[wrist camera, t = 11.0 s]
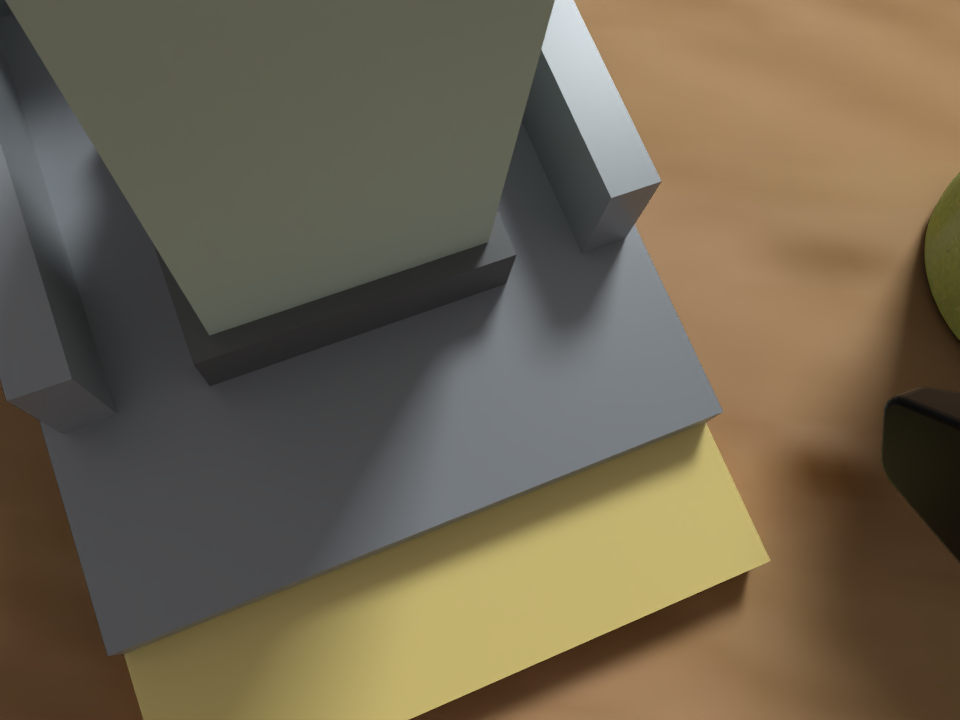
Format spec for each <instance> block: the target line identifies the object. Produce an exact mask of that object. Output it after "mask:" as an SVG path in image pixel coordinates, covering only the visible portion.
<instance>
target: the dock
mask: <svg viewBox="0 0 960 720" xmlns="http://www.w3.org/2000/svg"><path fill="white" fill-rule="evenodd" d="M660 183H661V179H660V177H659V175H658V173H657V171H656V169H655V167H654V165H653V163H652V161H651V159H650V157H649V155H648V152H647V150H646V148H645V146H644V144H643V142H642V140H641V138H640V136H639V134H638V132H637V130H636V128H635V126H634V124H633V122H632V120H631V118H630V116H629V113H628V111H627V109H626V107H625V105H624V103H623V101H622V99H621V97H620V95H619V93H618V91H617V89H616V87H615V85H614V83H613V81H612V79H611V76H610V74H609V72H608V70H607V68H606V66H605V64H604V62H603V60H602V58H601V56H600V54H599V52H598V50H597V48H596V46H595V44H594V42H593V39H592V37H591V35H590V33H589V31H588V29H587V27H586V25H585V23H584V21H583V19H582V17H581V15H580V13H579V11H578V9H577V7H576V5H575V2H574V0H555V1H554V5H553V9H552V12H551V16H550V20H549V23H548V27H547V31H546V34H545V38H544V41H543V45H542V49H541V52H540V56H539V60H538V63H537V67H536V71H535V74H534V78H533V82H532V85H531V89H530V92H529V96H528V100H527V103H526V107H525V111H524V114H523V118H522V122H521V125H520V129H519V132H518V136H517V140H516V143H515V147H514V151H513V154H512V158H511V162H510V165H509V169H508V173H507V176H506V180H505V183H504V187H503V191H502V194H501V198H500V202H499V205H498V209H497V210H498V213H499V215H500V217H501V219H502V222H503V224H504V226H505V229H506V231H507V233H508V236H509V238H510V240H511V242H512V245H513V247H514V249H515V252H516V254H517V255H516V258H515V261H514V263H513V266H512V269H511V272H510V275H509V277H508V280H507V283H506V284H504V285H501V286H498V287H495V288H492V289H489V290H487V291H484V292H481V293H478V294H475V295H472V296H469V297H466V298H463V299H461V300H458V301H455V302H452V303H449V304H446V305H443V306H440V307H437V308H435V309H432V310H429V311H426V312H423V313H420V314H417V315H414V316H411V317H409V318H406V319H403V320H400V321H397V322H394V323H391V324H388V325H385V326H383V327H380V328H377V329H374V330H371V331H368V332H365V333H362V334H359V335H357V336H354V337H351V338H348V339H345V340H342V341H339V342H336V343H333V344H331V345H328V346H325V347H322V348H319V349H316V350H313V351H310V352H307V353H305V354H302V355H299V356H296V357H293V358H290V359H287V360H284V361H281V362H279V363H276V364H273V365H270V366H267V367H264V368H261V369H258V370H255V371H253V372H250V373H247V374H244V375H241V376H238V377H235V378H232V379H229V380H227V381H224V382H221V383H218V384H215V385H212V386H209V385H208V383H207V382H206V381H205V379H204V378H203V376H202V375H201V374H200V372H199V371H198V370H197V368H196V367H195V366H194V364H193V361H192V358H191V355H190V352H189V349H188V346H187V343H186V340H185V337H184V334H183V331H182V328H181V325H180V322H179V319H178V316H177V313H176V311H175V308H174V305H173V302H172V299H171V296H170V293H169V290H168V287H167V284H166V281H165V278H164V275H163V272H162V269H161V266H160V263H159V260H158V257H157V254H156V251H155V248H154V245H153V242H152V240H151V239H150V237H149V236H148V234H147V232H146V231H145V229H144V227H143V226H142V224H141V222H140V221H139V219H138V217H137V216H136V214H135V213H134V211H133V209H132V208H131V206H130V204H129V203H128V201H127V199H126V198H125V196H124V195H123V193H122V191H121V190H120V188H119V186H118V185H117V183H116V181H115V180H114V178H113V176H112V175H111V173H110V172H109V170H108V168H107V167H106V165H105V163H104V162H103V160H102V158H101V157H100V155H99V153H98V152H97V150H96V149H95V147H94V145H93V144H92V142H91V140H90V139H89V137H88V135H87V134H86V132H85V131H84V129H83V127H82V126H81V124H80V122H79V121H78V119H77V117H76V116H75V114H74V112H73V111H72V109H71V108H70V106H69V104H68V103H67V101H66V99H65V98H64V96H63V94H62V93H61V91H60V89H59V88H58V86H57V85H56V83H55V81H54V80H53V78H52V76H51V75H50V73H49V71H48V70H47V68H46V67H45V65H44V63H43V62H42V60H41V58H40V57H39V55H38V53H37V52H36V50H35V48H34V47H33V45H32V44H31V42H30V40H29V39H28V37H27V35H26V34H25V32H24V30H23V29H22V27H21V25H20V24H19V22H18V21H17V19H16V17H15V16H14V14H13V12H12V11H11V9H10V7H9V6H8V4H7V2H6V1H5V0H0V380H1V384H2V387H3V391H4V394H5V398H6V401H7V402H9V403H10V404H12V405H14V406H16V407H17V408H19V409H21V410H22V411H24V412H26V413H28V414H29V415H31V416H33V417H34V418H36V419H38V420H39V421H40V425H41V428H42V432H43V435H44V439H45V442H46V446H47V449H48V452H49V456H50V459H51V463H52V466H53V470H54V473H55V476H56V480H57V483H58V487H59V490H60V494H61V497H62V501H63V504H64V507H65V511H66V514H67V518H68V521H69V525H70V528H71V531H72V535H73V538H74V542H75V545H76V549H77V552H78V556H79V559H80V562H81V566H82V569H83V573H84V576H85V580H86V583H87V586H88V590H89V593H90V597H91V600H92V604H93V607H94V611H95V614H96V617H97V621H98V624H99V628H100V631H101V635H102V638H103V641H104V645H105V648H106V652H107V655H108V656H113V655H122V654H124V656H125V660H126V663H127V666H128V670H129V673H130V677H131V680H132V683H133V687H134V690H135V694H136V697H137V700H138V704H139V707H140V710H141V714H142V717H143V720H409V719H412V718H414V717H416V716H418V715H421V714H423V713H425V712H428V711H430V710H432V709H434V708H437V707H439V706H441V705H443V704H446V703H448V702H450V701H453V700H455V699H457V698H459V697H462V696H464V695H466V694H469V693H471V692H473V691H475V690H478V689H480V688H482V687H484V686H487V685H489V684H491V683H494V682H496V681H498V680H500V679H503V678H505V677H507V676H510V675H512V674H514V673H516V672H519V671H521V670H523V669H525V668H528V667H530V666H532V665H535V664H537V663H539V662H541V661H544V660H546V659H548V658H551V657H553V656H555V655H557V654H560V653H562V652H564V651H567V650H569V649H571V648H573V647H576V646H578V645H580V644H582V643H585V642H587V641H589V640H592V639H594V638H596V637H598V636H601V635H603V634H605V633H608V632H610V631H612V630H614V629H617V628H619V627H621V626H623V625H626V624H628V623H630V622H633V621H635V620H637V619H639V618H642V617H644V616H646V615H649V614H651V613H653V612H655V611H658V610H660V609H662V608H664V607H667V606H669V605H671V604H674V603H676V602H678V601H680V600H683V599H685V598H687V597H690V596H692V595H694V594H696V593H699V592H701V591H703V590H705V589H708V588H710V587H712V586H715V585H717V584H719V583H721V582H724V581H726V580H728V579H731V578H733V577H735V576H737V575H740V574H742V573H744V572H746V571H749V570H751V569H753V568H756V567H758V566H760V565H762V564H765V563H767V562H769V561H770V559H769V557H768V554H767V552H766V550H765V548H764V546H763V544H762V542H761V539H760V537H759V535H758V533H757V531H756V529H755V527H754V524H753V522H752V520H751V518H750V516H749V514H748V512H747V509H746V507H745V505H744V503H743V501H742V499H741V497H740V495H739V492H738V490H737V488H736V486H735V484H734V482H733V480H732V477H731V475H730V473H729V471H728V469H727V467H726V465H725V462H724V460H723V458H722V456H721V454H720V452H719V450H718V447H717V445H716V443H715V441H714V439H713V437H712V435H711V432H710V430H709V428H708V426H707V424H706V422H707V421H709V420H711V419H712V418H714V417H716V416H717V415H719V414H720V413H722V412H723V410H722V408H721V406H720V404H719V402H718V400H717V398H716V395H715V393H714V391H713V389H712V387H711V385H710V383H709V381H708V379H707V376H706V374H705V372H704V370H703V368H702V366H701V364H700V362H699V360H698V357H697V355H696V353H695V351H694V349H693V347H692V345H691V343H690V341H689V338H688V336H687V334H686V332H685V330H684V328H683V326H682V324H681V322H680V319H679V317H678V315H677V313H676V311H675V309H674V307H673V305H672V303H671V300H670V298H669V296H668V294H667V292H666V290H665V288H664V286H663V283H662V281H661V279H660V277H659V275H658V273H657V271H656V269H655V267H654V264H653V262H652V260H651V258H650V256H649V254H648V252H647V250H646V248H645V245H644V243H643V241H642V239H641V237H640V235H639V233H638V231H637V229H636V226H635V223H636V221H637V219H638V218H639V216H640V215H641V213H642V211H643V210H644V208H645V207H646V205H647V204H648V202H649V200H650V199H651V197H652V196H653V194H654V192H655V191H656V189H657V188H658V186H659V184H660Z"/></svg>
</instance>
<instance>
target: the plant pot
mask: <svg viewBox="0 0 960 720" xmlns="http://www.w3.org/2000/svg"><path fill="white" fill-rule="evenodd" d="M925 267H926V273H927V278H928V282H929V285H930V289H931V292H932V295H933V297H934V299H935V302H936V304H937V306H938V308H939V311H940V313H941V314H942V316H943V318H944V319H945V321H946V323H947V324H948V326H949V328H950V329H951V330H952V332H953V333H954V334H955V336H956V337H957V338H958V339H959V340H960V173H959V174H958V175H957V176H956V177H955V178H954V179H953V180H952V182H951V183H950V184H949V186H948V187H947V189H946V190H945V191H944V193H943V195H942V196H941V198H940V200H939V202H938V203H937V205H936V207H935V209H934V211H933V213H932V215H931V217H930V220H929V224H928V227H927V231H926V237H925Z"/></svg>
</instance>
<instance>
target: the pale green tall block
mask: <svg viewBox="0 0 960 720" xmlns="http://www.w3.org/2000/svg"><path fill="white" fill-rule="evenodd" d="M5 1H6V2H7V4H8V6H9V7H10V9H11V11H12V12H13V14H14V16H15V17H16V19H17V21H18V22H19V24H20V25H21V27H22V29H23V30H24V32H25V34H26V35H27V37H28V39H29V40H30V42H31V44H32V45H33V47H34V48H35V50H36V52H37V53H38V55H39V57H40V58H41V60H42V62H43V63H44V65H45V67H46V68H47V70H48V71H49V73H50V75H51V76H52V78H53V80H54V81H55V83H56V85H57V86H58V88H59V89H60V91H61V93H62V94H63V96H64V98H65V99H66V101H67V103H68V104H69V106H70V108H71V109H72V111H73V112H74V114H75V116H76V117H77V119H78V121H79V122H80V124H81V126H82V127H83V129H84V131H85V132H86V134H87V135H88V137H89V139H90V140H91V142H92V144H93V145H94V147H95V149H96V150H97V152H98V153H99V155H100V157H101V158H102V160H103V162H104V163H105V165H106V167H107V168H108V170H109V172H110V173H111V175H112V176H113V178H114V180H115V181H116V183H117V185H118V186H119V188H120V190H121V191H122V193H123V195H124V196H125V198H126V199H127V201H128V203H129V204H130V206H131V208H132V209H133V211H134V213H135V214H136V216H137V217H138V219H139V221H140V222H141V224H142V226H143V227H144V229H145V231H146V232H147V234H148V236H149V237H150V239H151V240H152V242H153V245H154V248H155V251H156V254H157V257H158V260H159V263H160V266H161V269H162V272H163V275H164V278H165V281H166V284H167V287H168V290H169V293H170V296H171V299H172V302H173V305H174V308H175V311H176V313H177V316H178V319H179V322H180V325H181V328H182V331H183V334H184V337H185V340H186V343H187V346H188V349H189V352H190V355H191V358H192V361H193V364H194V366H195V367H196V368H197V370H198V371H199V372H200V374H201V375H202V376H203V378H204V379H205V381H206V382H207V383H208V385H209V386H212V385H215V384H218V383H221V382H224V381H227V380H229V379H232V378H235V377H238V376H241V375H244V374H247V373H250V372H253V371H255V370H258V369H261V368H264V367H267V366H270V365H273V364H276V363H279V362H281V361H284V360H287V359H290V358H293V357H296V356H299V355H302V354H305V353H307V352H310V351H313V350H316V349H319V348H322V347H325V346H328V345H331V344H333V343H336V342H339V341H342V340H345V339H348V338H351V337H354V336H357V335H359V334H362V333H365V332H368V331H371V330H374V329H377V328H380V327H383V326H385V325H388V324H391V323H394V322H397V321H400V320H403V319H406V318H409V317H411V316H414V315H417V314H420V313H423V312H426V311H429V310H432V309H435V308H437V307H440V306H443V305H446V304H449V303H452V302H455V301H458V300H461V299H463V298H466V297H469V296H472V295H475V294H478V293H481V292H484V291H487V290H489V289H492V288H495V287H498V286H501V285H504V284H506V283H507V280H508V277H509V275H510V272H511V269H512V266H513V263H514V261H515V258H516V255H517V254H516V252H515V249H514V247H513V245H512V242H511V240H510V238H509V236H508V233H507V231H506V229H505V226H504V224H503V222H502V219H501V217H500V215H499V213H498V210H497V209H498V205H499V202H500V198H501V194H502V191H503V187H504V183H505V180H506V176H507V173H508V169H509V165H510V162H511V158H512V154H513V151H514V147H515V143H516V140H517V136H518V132H519V129H520V125H521V122H522V118H523V114H524V111H525V107H526V103H527V100H528V96H529V92H530V89H531V85H532V82H533V78H534V74H535V71H536V67H537V63H538V60H539V56H540V52H541V49H542V45H543V41H544V38H545V34H546V31H547V27H548V23H549V20H550V16H551V12H552V9H553V5H554V1H555V0H5Z"/></svg>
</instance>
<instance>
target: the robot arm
mask: <svg viewBox="0 0 960 720" xmlns="http://www.w3.org/2000/svg"><path fill="white" fill-rule="evenodd" d="M881 462H882V467H883V470H884V472H885V474H886V476H887V478H888V479H889V481H890V482H891V484H892V485H893V486H894V487H895V488H896V489H897V491H898V492H899V493H900V494H901V495H902V496H903V498H904V499H905V500H906V501H907V502H908V504H909V505H910V506H911V507H912V508H913V509H914V511H915V512H916V513H917V514H918V515H919V516H920V518H921V519H922V520H923V521H924V522H925V523H926V525H927V526H928V527H929V528H930V529H931V531H932V532H933V533H934V534H935V535H936V536H937V538H938V539H939V540H940V541H941V542H942V543H943V545H944V546H945V547H946V548H947V549H948V550H949V552H950V553H951V554H952V555H953V556H954V558H955V559H956V560H957V561H958V562H959V563H960V393H958V392H953V391H948V390H943V389H938V388H933V387H926V386H925V387H917V388H914V389H911V390H909V391H906V392H904V393H901V394H898V395H896V396H893V397H892V398H890V399H889V400H888V402H887V404H886V405H885V408H884V417H883V433H882V448H881Z"/></svg>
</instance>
